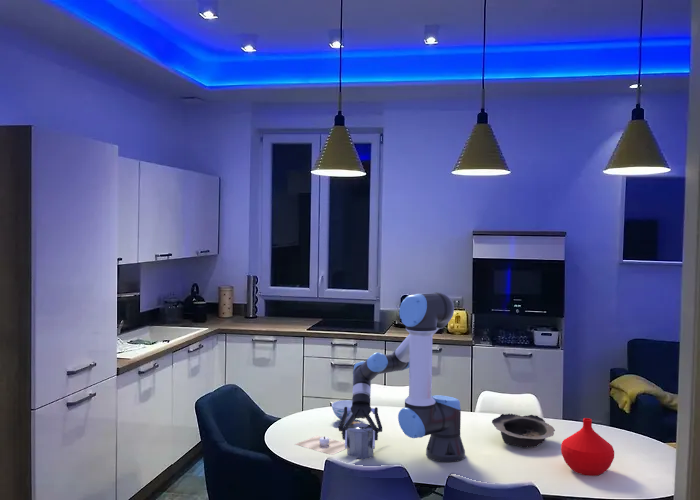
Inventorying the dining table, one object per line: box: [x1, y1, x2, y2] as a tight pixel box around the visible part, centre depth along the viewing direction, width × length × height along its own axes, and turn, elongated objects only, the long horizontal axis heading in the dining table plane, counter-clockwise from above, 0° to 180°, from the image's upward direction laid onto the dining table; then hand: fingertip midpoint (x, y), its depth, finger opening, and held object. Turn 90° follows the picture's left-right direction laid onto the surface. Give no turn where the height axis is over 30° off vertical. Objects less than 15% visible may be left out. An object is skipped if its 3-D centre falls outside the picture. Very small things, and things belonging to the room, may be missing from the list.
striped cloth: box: [294, 435, 346, 456], centre depth 255 cm, size 20×14×1 cm
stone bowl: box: [491, 413, 556, 449], centre depth 260 cm, size 25×25×9 cm
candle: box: [320, 436, 330, 446], centre depth 255 cm, size 4×4×3 cm
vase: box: [560, 417, 615, 477], centre depth 228 cm, size 18×18×19 cm
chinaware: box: [331, 399, 356, 424], centre depth 291 cm, size 15×15×8 cm
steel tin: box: [346, 422, 374, 460], centre depth 246 cm, size 10×10×11 cm
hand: (359, 447), depth 243 cm, fingers closed on steel tin, 10 cm apart
